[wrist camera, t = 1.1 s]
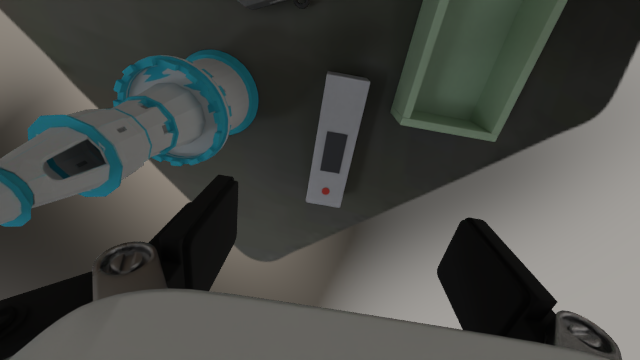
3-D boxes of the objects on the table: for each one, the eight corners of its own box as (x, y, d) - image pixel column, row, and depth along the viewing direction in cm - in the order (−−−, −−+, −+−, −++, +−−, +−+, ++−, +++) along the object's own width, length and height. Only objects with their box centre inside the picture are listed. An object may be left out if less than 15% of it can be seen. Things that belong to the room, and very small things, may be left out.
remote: (327, 70, 30) (326, 73, 27) (367, 78, 30) (370, 82, 27) (307, 190, 37) (305, 202, 34) (339, 195, 37) (339, 208, 34)
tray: (461, -132, 22) (497, -182, 17) (576, -107, 22) (644, -149, 17) (390, 112, 31) (399, 125, 27) (470, 126, 32) (495, 142, 27)
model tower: (159, 67, 30) (-1027, 230, 4) (235, 36, 28) (-1088, -48, 2) (202, 144, 35) (-228, 472, 8) (271, 122, 33) (-1, 456, 6)
